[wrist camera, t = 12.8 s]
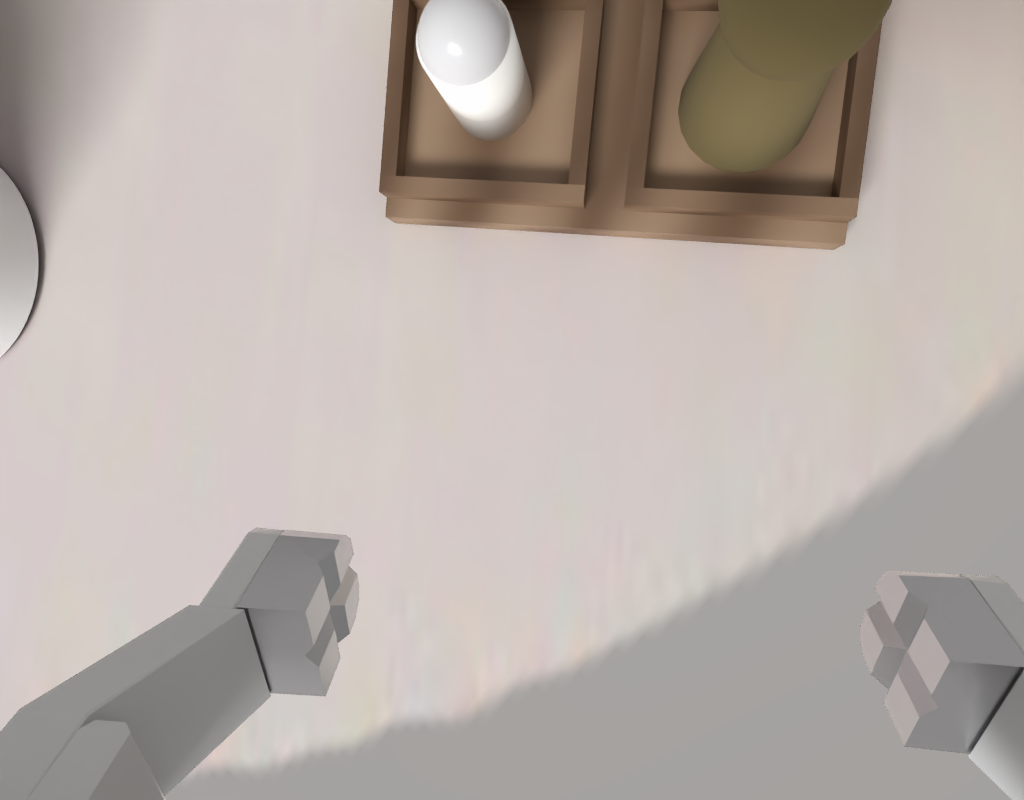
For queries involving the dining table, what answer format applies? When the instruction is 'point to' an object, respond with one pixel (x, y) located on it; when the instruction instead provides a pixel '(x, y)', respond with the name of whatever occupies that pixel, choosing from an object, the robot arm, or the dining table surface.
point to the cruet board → (615, 137)
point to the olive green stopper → (768, 76)
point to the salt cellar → (476, 65)
